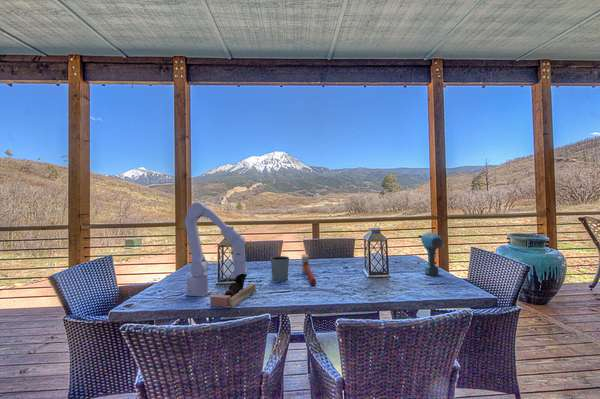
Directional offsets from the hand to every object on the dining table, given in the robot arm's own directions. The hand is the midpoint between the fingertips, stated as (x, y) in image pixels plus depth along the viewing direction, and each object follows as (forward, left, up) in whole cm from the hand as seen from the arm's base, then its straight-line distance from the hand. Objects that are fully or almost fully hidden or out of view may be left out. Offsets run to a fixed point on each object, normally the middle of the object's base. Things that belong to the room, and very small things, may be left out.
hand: (240, 289), depth 148 cm
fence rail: (+6, -8, -1) cm, 10 cm away
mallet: (+27, +31, -2) cm, 41 cm away
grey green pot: (+12, +25, -1) cm, 27 cm away
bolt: (0, -9, -1) cm, 9 cm away
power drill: (+92, +54, -1) cm, 107 cm away
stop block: (0, -18, -1) cm, 18 cm away
